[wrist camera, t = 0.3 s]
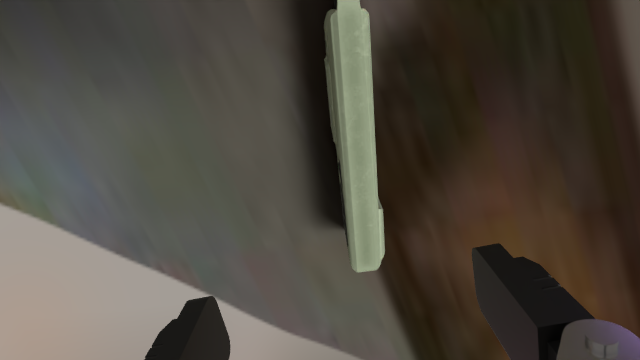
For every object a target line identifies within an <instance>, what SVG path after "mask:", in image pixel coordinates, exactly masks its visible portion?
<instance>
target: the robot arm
mask: <svg viewBox="0 0 640 360" xmlns="http://www.w3.org/2000/svg"><path fill="white" fill-rule="evenodd" d="M472 261H473V270H474V279H475V288H476V295H477V300H478V303H479V306H480V309H481V311H482V313H483V315H484V317H485V318H486V320H487V321H488V323H489V325H490V326H491V328H492V330H493V331H494V333H495V335H496V336H497V338H498V339H499V341H500V343H501V344H502V346H503V348H504V349H505V351H506V352H507V354H508V356H509V357H510V359H511V360H640V339H639V338H638V337H637V336H636V335H634V334H633V333H632V332H630V331H629V330H627V329H625V328H624V327H621V326H619V325H617V324H614V323H611V322H607V321H603V320H596V319H595V318H594V317H593V316H592V315H591V314H590V313H589V312H588V311H587V310H586V309H585V308H584V307H582V306H581V305H580V304H579V303H578V302H577V301H576V300H575V299H574V298H573V297H572V296H571V295H570V294H569V293H568V292H567V291H566V290H565V289H564V288H563V287H561V286H560V284H559V283H558V282H557V281H556V280H555V279H554V278H551V275H550V274H549V273H548V272H547V271H546V270H545V269H544V268H543V267H542V266H541V265H539V264H537V263H535V262H533V261H531V260H529V259H527V258H525V257H517V258H513V257H512V256H511V255H510V254H509V253H508V252H507V251H506V250H505V249H504V247H503V246H502V245H501V244H492V245H487V246H482V247H476V248H473V249H472ZM229 356H230V340H229V336H228V333H227V330H226V327H225V324H224V321H223V318H222V316H221V313H220V310H219V307H218V304H217V302H216V300H215V298H214V297H213V296H209V297H203V298H199V299H193V300H189V301H187V302H186V304H185V306H184V307H183V309H182V311H181V313H180V315H179V316H178V318H177V319H174V320H172V321H171V322H170V323H169V324H168V325H167V326H166V327H165V328H164V329H163V330H162V331H161V332H160V333H159V334H158V336H157V338H156V339H155V341H154V343H153V345H152V348H150V350H149V351H148V353H147V355H146V356H145V360H228V359H229Z"/></svg>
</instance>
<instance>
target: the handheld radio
mask: <svg viewBox="0 0 640 360" xmlns="http://www.w3.org/2000/svg"><path fill="white" fill-rule="evenodd" d="M324 31H325V46H326V57H325V59H324V62H325V70H326V81H327V91H328V101H329V112H330V122H331V129H332V134H333V142H334V143H335V145H336V151H337V161H338V171H339V181H340V191H341V201H342V212H343V222H344V229H345V235H346V241H347V247H348V253H349V259H350V264H351V267H352V268H353V270H355V271H356V272H357V273H358V272H365V271H372V270H377V269H378V268H379V266H380V264H381V259H382V258H383V257H384V253H385V247H384V223H383V209H382V206H381V204H380V201H379V198H378V189H377V168H376V147H375V126H374V106H373V85H372V64H371V43H370V23H369V13H368V12H367V11H366V10H365V9H362V8H361V7H360V2H359V0H334V9H330V10H329V11H328V12H327V15H326V18H325V21H324Z"/></svg>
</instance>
